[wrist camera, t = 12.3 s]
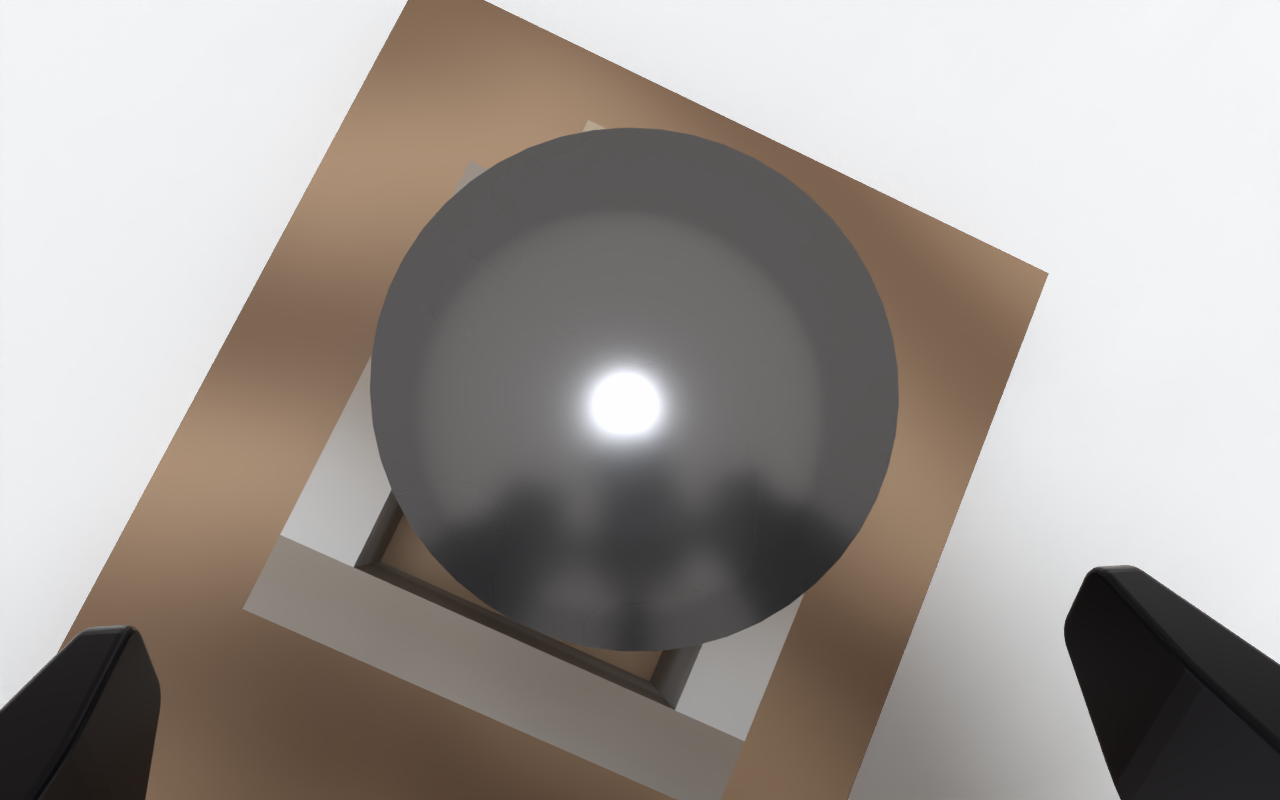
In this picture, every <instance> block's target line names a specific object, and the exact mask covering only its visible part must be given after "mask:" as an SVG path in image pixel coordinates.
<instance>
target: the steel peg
mask: <svg viewBox="0 0 1280 800" xmlns="http://www.w3.org/2000/svg"><path fill="white" fill-rule="evenodd" d="M370 398H371V410H372V422H373V428H374V433H375V437H376V442H377V446H378V450H379V455H380V459H381V462H382V465H383V468H384V470H385V473H386V476H387V478H388V481H389V484H390V486H391V489H392V492H393V494H394V496H395V498H396V500H397V502H398V504H399V505H400V507H401V509H402V511H403V513H404V515H405V517H406V518H407V520H408V522H409V524H410V526H411V527H412V529H413V530H414V531H415V533H416V534H417V535H418V537H419V538H420V540H421V541H422V542H423V544H424V545H425V546H426V548H427V549H428V551H429V552H430V553H431V555H432V556H433V557H434V558H435V559H436V560H437V561H438V562H439V563H440V564H441V565H442V566H443V567H444V568H445V569H446V570H447V571H448V572H449V574H450V575H451V576H452V577H453V578H454V579H455V580H456V581H457V582H458V583H460V584H461V585H462V586H463V587H465V588H466V589H467V590H469V591H470V592H471V593H472V594H474V595H475V596H476V597H477V598H479V599H480V600H481V601H482V602H484V603H485V604H486V605H488V606H490V607H491V608H493V609H495V610H496V611H498V612H500V613H501V614H503V615H505V616H506V617H508V618H510V619H511V620H513V621H515V622H517V623H519V624H521V625H523V626H526V627H528V628H530V629H533V630H535V631H538V632H540V633H542V634H545V635H547V636H549V637H552V638H556V639H560V640H563V641H567V642H571V643H574V644H578V645H581V646H585V647H592V648H600V649H607V650H615V651H663V650H671V649H678V648H685V647H692V646H696V645H700V644H703V643H707V642H711V641H714V640H718V639H721V638H725V637H728V636H730V635H733V634H735V633H737V632H740V631H742V630H744V629H746V628H749V627H751V626H753V625H756V624H758V623H760V622H762V621H763V620H765V619H767V618H768V617H770V616H772V615H773V614H775V613H777V612H778V611H780V610H782V609H783V608H785V607H787V606H788V605H790V604H791V603H792V602H794V601H795V600H796V599H797V598H799V597H800V596H801V595H802V594H803V593H805V592H806V591H807V590H808V589H810V588H811V587H812V586H813V585H815V584H816V583H817V582H818V581H819V580H820V579H821V578H822V577H823V576H824V575H825V574H826V572H827V571H828V570H829V569H830V568H831V567H832V566H833V565H834V564H835V563H836V562H837V561H838V560H839V559H840V558H841V556H842V555H843V553H844V552H845V551H846V549H847V548H848V546H849V545H850V544H851V542H852V541H853V540H854V538H855V537H856V535H857V534H858V533H859V531H860V530H861V528H862V526H863V524H864V522H865V520H866V518H867V517H868V515H869V513H870V511H871V509H872V507H873V505H874V503H875V502H876V500H877V497H878V494H879V492H880V489H881V486H882V484H883V481H884V478H885V476H886V473H887V470H888V467H889V463H890V458H891V454H892V450H893V445H894V441H895V437H896V427H897V417H898V407H899V389H898V367H897V361H896V355H895V348H894V342H893V336H892V333H891V329H890V326H889V323H888V319H887V316H886V312H885V309H884V306H883V303H882V301H881V298H880V296H879V294H878V291H877V289H876V287H875V285H874V282H873V280H872V278H871V275H870V273H869V272H868V270H867V268H866V267H865V265H864V263H863V262H862V260H861V258H860V257H859V255H858V253H857V252H856V250H855V248H854V246H853V245H852V244H851V242H850V241H849V240H848V238H847V237H846V236H845V235H844V233H843V232H842V231H841V229H840V228H839V227H838V226H837V224H836V223H835V222H834V220H833V219H832V218H831V217H830V216H829V215H828V214H827V213H826V212H825V211H824V210H823V209H822V208H821V207H820V206H819V205H818V204H817V203H816V202H815V201H814V200H813V199H812V198H811V197H810V196H809V195H808V194H806V193H805V192H804V191H802V190H801V189H800V188H799V187H797V186H796V185H795V184H794V183H792V182H791V181H790V180H788V179H787V178H786V177H785V176H783V175H782V174H780V173H778V172H777V171H775V170H773V169H772V168H770V167H768V166H767V165H765V164H763V163H762V162H760V161H759V160H757V159H755V158H753V157H751V156H749V155H746V154H744V153H742V152H740V151H737V150H735V149H733V148H731V147H728V146H726V145H724V144H721V143H717V142H714V141H711V140H708V139H704V138H701V137H698V136H694V135H690V134H684V133H679V132H673V131H667V130H662V129H646V128H614V129H600V130H591V131H586V132H581V133H576V134H571V135H566V136H562V137H558V138H555V139H552V140H549V141H547V142H544V143H541V144H538V145H535V146H532V147H529V148H527V149H525V150H523V151H521V152H519V153H517V154H515V155H513V156H511V157H509V158H507V159H504V160H502V161H500V162H499V163H497V164H496V165H494V166H493V167H491V168H489V169H488V170H486V171H485V172H483V173H482V174H480V175H479V176H477V177H476V178H474V179H473V180H471V181H470V182H469V183H468V184H467V185H466V186H464V187H463V188H462V189H461V190H460V191H459V192H458V193H456V194H455V195H454V196H453V197H452V198H451V199H449V200H448V201H447V202H446V203H445V204H444V205H443V206H442V207H441V209H440V210H439V211H438V212H437V213H436V214H435V215H434V217H433V218H432V219H431V220H430V221H429V222H428V223H427V224H426V226H425V227H424V228H423V229H422V231H421V232H420V234H419V235H418V237H417V238H416V240H415V241H414V243H413V244H412V246H411V247H410V249H409V250H408V252H407V253H406V255H405V256H404V258H403V260H402V262H401V264H400V266H399V268H398V270H397V272H396V274H395V276H394V278H393V280H392V282H391V284H390V286H389V289H388V292H387V295H386V298H385V301H384V304H383V307H382V310H381V313H380V316H379V319H378V323H377V328H376V334H375V339H374V344H373V350H372V356H371V376H370Z"/></svg>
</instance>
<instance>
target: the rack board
mask: <svg viewBox="0 0 1280 800" xmlns="http://www.w3.org/2000/svg"><path fill="white" fill-rule="evenodd" d="M614 128H646V129H662V130H667V131H673V132H679V133H684V134H690V135H694V136H698V137H701V138H704V139H708V140H711V141H714V142H717V143H721V144H724V145H726V146H728V147H731V148H733V149H735V150H737V151H740V152H742V153H744V154H746V155H749V156H751V157H753V158H755V159H757V160H759V161H760V162H762V163H763V164H765V165H767V166H768V167H770V168H772V169H773V170H775V171H777V172H778V173H780V174H782V175H783V176H785V177H786V178H787V179H788V180H790V181H791V182H792V183H794V184H795V185H796V186H797V187H799V188H800V189H801V190H802V191H804V192H805V193H806V194H808V195H809V196H810V197H811V198H812V199H813V200H814V201H815V202H816V203H817V204H818V205H819V206H820V207H821V208H822V209H823V210H824V211H825V212H826V213H827V214H828V215H829V216H830V217H831V218H832V219H833V220H834V222H835V223H836V224H837V226H838V227H839V228H840V229H841V231H842V232H843V233H844V235H845V236H846V237H847V238H848V240H849V241H850V242H851V244H852V245H853V246H854V248H855V250H856V252H857V253H858V255H859V257H860V258H861V260H862V262H863V263H864V265H865V267H866V268H867V270H868V272H869V273H870V275H871V278H872V280H873V282H874V285H875V287H876V289H877V291H878V294H879V296H880V298H881V301H882V303H883V306H884V309H885V312H886V316H887V319H888V323H889V326H890V329H891V333H892V336H893V342H894V348H895V355H896V361H897V367H898V389H899V407H898V417H897V427H896V437H895V441H894V445H893V450H892V454H891V458H890V463H889V467H888V470H887V473H886V476H885V478H884V481H883V484H882V486H881V489H880V492H879V494H878V497H877V500H876V502H875V503H874V505H873V507H872V509H871V511H870V513H869V515H868V517H867V518H866V520H865V522H864V524H863V526H862V528H861V530H860V531H859V533H858V534H857V535H856V537H855V538H854V540H853V541H852V542H851V544H850V545H849V546H848V548H847V549H846V551H845V552H844V553H843V555H842V556H841V558H840V559H839V560H838V561H837V562H836V563H835V564H834V565H833V566H832V567H831V568H830V569H829V570H828V571H827V572H826V574H825V575H824V576H823V577H822V578H821V579H820V580H819V581H818V582H817V583H816V584H815V585H813V586H812V587H811V588H810V589H808V590H807V591H806V592H805V593H803V594H802V595H801V596H800V597H799V598H797V599H796V600H795V601H794V602H792V603H791V604H790V605H788V606H787V607H785V608H783V609H782V610H780V611H778V612H777V613H775V614H773V615H772V616H770V617H768V618H767V619H765V620H763V621H762V622H760V623H758V624H756V625H753V626H751V627H749V628H746V629H744V630H742V631H740V632H737V633H735V634H733V635H730V636H728V637H725V638H721V639H718V640H714V641H711V642H707V643H703V644H700V645H696V646H692V647H685V648H678V649H671V650H663V651H615V650H607V649H600V648H592V647H585V646H581V645H578V644H574V643H571V642H567V641H563V640H560V639H556V638H552V637H549V636H547V635H545V634H542V633H540V632H538V631H535V630H533V629H530V628H528V627H526V626H523V625H521V624H519V623H517V622H515V621H513V620H511V619H510V618H508V617H506V616H505V615H503V614H501V613H500V612H498V611H496V610H495V609H493V608H491V607H490V606H488V605H486V604H485V603H484V602H482V601H481V600H480V599H479V598H477V597H476V596H475V595H474V594H472V593H471V592H470V591H469V590H467V589H466V588H465V587H463V586H462V585H461V584H460V583H458V582H457V581H456V580H455V579H454V578H453V577H452V576H451V575H450V574H449V572H448V571H447V570H446V569H445V568H444V567H443V566H442V565H441V564H440V563H439V562H438V561H437V560H436V559H435V558H434V557H433V556H432V555H431V553H430V552H429V551H428V549H427V548H426V546H425V545H424V544H423V542H422V541H421V540H420V538H419V537H418V535H417V534H416V533H415V531H414V530H413V529H412V527H411V526H410V524H409V522H408V520H407V518H406V517H405V515H404V513H403V511H402V509H401V507H400V505H399V504H398V502H397V500H396V498H395V496H394V494H393V492H392V489H391V486H390V484H389V481H388V478H387V476H386V473H385V470H384V468H383V465H382V462H381V459H380V455H379V450H378V446H377V442H376V437H375V433H374V428H373V422H372V410H371V398H370V376H371V356H372V350H373V344H374V339H375V334H376V328H377V323H378V319H379V316H380V313H381V310H382V307H383V304H384V301H385V298H386V295H387V292H388V289H389V286H390V284H391V282H392V280H393V278H394V276H395V274H396V272H397V270H398V268H399V266H400V264H401V262H402V260H403V258H404V256H405V255H406V253H407V252H408V250H409V249H410V247H411V246H412V244H413V243H414V241H415V240H416V238H417V237H418V235H419V234H420V232H421V231H422V229H423V228H424V227H425V226H426V224H427V223H428V222H429V221H430V220H431V219H432V218H433V217H434V215H435V214H436V213H437V212H438V211H439V210H440V209H441V207H442V206H443V205H444V204H445V203H446V202H447V201H448V200H449V199H451V198H452V197H453V196H454V195H455V194H456V193H458V192H459V191H460V190H461V189H462V188H463V187H464V186H466V185H467V184H468V183H469V182H470V181H471V180H473V179H474V178H476V177H477V176H479V175H480V174H482V173H483V172H485V171H486V170H488V169H489V168H491V167H493V166H494V165H496V164H497V163H499V162H500V161H502V160H504V159H507V158H509V157H511V156H513V155H515V154H517V153H519V152H521V151H523V150H525V149H527V148H529V147H532V146H535V145H538V144H541V143H544V142H547V141H549V140H552V139H555V138H558V137H562V136H566V135H571V134H576V133H581V132H586V131H591V130H600V129H614ZM1047 276H1048V273H1047V272H1045V271H1043V270H1040V269H1038V268H1036V267H1034V266H1032V265H1030V264H1028V263H1026V262H1024V261H1022V260H1020V259H1018V258H1016V257H1014V256H1012V255H1009V254H1007V253H1005V252H1003V251H1001V250H999V249H997V248H995V247H993V246H991V245H989V244H987V243H985V242H983V241H981V240H978V239H976V238H974V237H972V236H970V235H968V234H966V233H964V232H962V231H960V230H958V229H956V228H954V227H952V226H950V225H947V224H945V223H943V222H941V221H939V220H937V219H935V218H933V217H931V216H929V215H927V214H925V213H923V212H921V211H919V210H916V209H914V208H912V207H910V206H908V205H906V204H904V203H902V202H900V201H898V200H896V199H894V198H892V197H890V196H888V195H885V194H883V193H881V192H879V191H877V190H875V189H873V188H871V187H869V186H867V185H865V184H863V183H861V182H859V181H857V180H854V179H852V178H850V177H848V176H846V175H844V174H842V173H840V172H838V171H836V170H834V169H832V168H830V167H828V166H825V165H823V164H821V163H819V162H817V161H815V160H813V159H811V158H809V157H807V156H805V155H803V154H801V153H799V152H797V151H794V150H792V149H790V148H788V147H786V146H784V145H782V144H780V143H778V142H776V141H774V140H772V139H770V138H768V137H766V136H763V135H761V134H759V133H757V132H755V131H753V130H751V129H749V128H747V127H745V126H743V125H741V124H739V123H737V122H735V121H732V120H730V119H728V118H726V117H724V116H722V115H720V114H718V113H716V112H714V111H712V110H710V109H708V108H706V107H704V106H701V105H699V104H697V103H695V102H693V101H691V100H689V99H687V98H685V97H683V96H681V95H679V94H677V93H675V92H673V91H670V90H668V89H666V88H664V87H662V86H660V85H658V84H656V83H654V82H652V81H650V80H648V79H646V78H644V77H642V76H639V75H637V74H635V73H633V72H631V71H629V70H627V69H625V68H623V67H621V66H619V65H617V64H615V63H613V62H611V61H608V60H606V59H604V58H602V57H600V56H598V55H596V54H594V53H592V52H590V51H588V50H586V49H584V48H582V47H580V46H577V45H575V44H573V43H571V42H569V41H567V40H565V39H563V38H561V37H559V36H557V35H555V34H553V33H551V32H549V31H546V30H544V29H542V28H540V27H538V26H536V25H534V24H532V23H530V22H528V21H526V20H524V19H522V18H520V17H517V16H515V15H513V14H511V13H509V12H507V11H505V10H503V9H501V8H499V7H497V6H495V5H493V4H491V3H489V2H486V1H484V0H408V1H407V3H406V5H405V7H404V9H403V11H402V13H401V14H400V16H399V18H398V20H397V22H396V24H395V26H394V27H393V29H392V31H391V33H390V35H389V37H388V39H387V40H386V42H385V44H384V46H383V48H382V50H381V52H380V53H379V55H378V57H377V59H376V61H375V63H374V65H373V67H372V68H371V70H370V72H369V74H368V76H367V78H366V80H365V81H364V83H363V85H362V87H361V89H360V91H359V93H358V94H357V96H356V98H355V100H354V102H353V104H352V106H351V107H350V109H349V111H348V113H347V115H346V117H345V119H344V120H343V122H342V124H341V126H340V128H339V130H338V132H337V134H336V135H335V137H334V139H333V141H332V143H331V145H330V147H329V148H328V150H327V152H326V154H325V156H324V158H323V160H322V161H321V163H320V165H319V167H318V169H317V171H316V173H315V174H314V176H313V178H312V180H311V182H310V184H309V186H308V188H307V189H306V191H305V193H304V195H303V197H302V199H301V201H300V202H299V204H298V206H297V208H296V210H295V212H294V214H293V215H292V217H291V219H290V221H289V223H288V225H287V227H286V228H285V230H284V232H283V234H282V236H281V238H280V240H279V242H278V243H277V245H276V247H275V249H274V251H273V253H272V255H271V256H270V258H269V260H268V262H267V264H266V266H265V268H264V269H263V271H262V273H261V275H260V277H259V279H258V281H257V282H256V284H255V286H254V288H253V290H252V292H251V294H250V295H249V297H248V299H247V301H246V303H245V305H244V307H243V309H242V310H241V312H240V314H239V316H238V318H237V320H236V322H235V323H234V325H233V327H232V329H231V331H230V333H229V335H228V336H227V338H226V340H225V342H224V344H223V346H222V348H221V349H220V351H219V353H218V355H217V357H216V359H215V361H214V363H213V364H212V366H211V368H210V370H209V372H208V374H207V376H206V377H205V379H204V381H203V383H202V385H201V387H200V389H199V390H198V392H197V394H196V396H195V398H194V400H193V402H192V403H191V405H190V407H189V409H188V411H187V413H186V415H185V417H184V418H183V420H182V422H181V424H180V426H179V428H178V430H177V431H176V433H175V435H174V437H173V439H172V441H171V443H170V444H169V446H168V448H167V450H166V452H165V454H164V456H163V457H162V459H161V461H160V463H159V465H158V467H157V469H156V471H155V472H154V474H153V476H152V478H151V480H150V482H149V484H148V485H147V487H146V489H145V491H144V493H143V495H142V497H141V498H140V500H139V502H138V504H137V506H136V508H135V510H134V511H133V513H132V515H131V517H130V519H129V521H128V523H127V524H126V526H125V528H124V530H123V532H122V534H121V536H120V538H119V539H118V541H117V543H116V545H115V547H114V549H113V551H112V552H111V554H110V556H109V558H108V560H107V562H106V564H105V565H104V567H103V569H102V571H101V573H100V575H99V577H98V578H97V580H96V582H95V584H94V586H93V588H92V590H91V592H90V593H89V595H88V597H87V599H86V601H85V603H84V605H83V606H82V608H81V610H80V612H79V614H78V616H77V618H76V619H75V621H74V623H73V625H72V627H71V629H70V631H69V632H68V634H67V636H66V638H65V640H64V642H63V644H62V646H61V647H60V649H59V651H58V653H59V652H60V651H61V650H62V649H63V648H64V647H65V646H66V645H67V644H68V643H69V642H70V641H71V640H72V639H73V638H74V637H75V636H76V635H77V634H78V633H80V632H81V631H83V630H85V629H87V628H90V627H99V626H116V625H131V626H134V627H135V628H136V629H137V630H139V632H140V634H141V636H142V638H143V641H144V643H145V646H146V648H147V651H148V654H149V656H150V659H151V661H152V664H153V667H154V669H155V672H156V674H157V677H158V680H159V683H160V689H161V706H160V713H159V719H158V726H157V732H156V738H155V744H154V750H153V756H152V762H151V768H150V774H149V780H148V787H147V793H146V799H145V800H847V799H848V797H849V794H850V792H851V789H852V786H853V784H854V781H855V778H856V776H857V773H858V771H859V768H860V765H861V763H862V760H863V758H864V755H865V752H866V750H867V747H868V744H869V742H870V739H871V737H872V734H873V731H874V729H875V726H876V724H877V721H878V718H879V716H880V713H881V710H882V708H883V705H884V703H885V700H886V697H887V695H888V692H889V690H890V687H891V684H892V682H893V679H894V676H895V674H896V671H897V669H898V666H899V663H900V661H901V658H902V655H903V653H904V650H905V648H906V645H907V642H908V640H909V637H910V635H911V632H912V629H913V627H914V624H915V621H916V619H917V616H918V614H919V611H920V608H921V606H922V603H923V601H924V598H925V595H926V593H927V590H928V587H929V585H930V582H931V580H932V577H933V574H934V572H935V569H936V567H937V564H938V561H939V559H940V556H941V553H942V551H943V548H944V546H945V543H946V540H947V538H948V535H949V533H950V530H951V527H952V525H953V522H954V519H955V517H956V514H957V512H958V509H959V506H960V504H961V501H962V499H963V496H964V493H965V491H966V488H967V485H968V483H969V480H970V478H971V475H972V472H973V470H974V467H975V464H976V462H977V459H978V457H979V454H980V451H981V449H982V446H983V444H984V441H985V438H986V436H987V433H988V430H989V428H990V425H991V423H992V420H993V417H994V415H995V412H996V410H997V407H998V404H999V402H1000V399H1001V396H1002V394H1003V391H1004V389H1005V386H1006V383H1007V381H1008V378H1009V376H1010V373H1011V370H1012V368H1013V365H1014V362H1015V360H1016V357H1017V355H1018V352H1019V349H1020V347H1021V344H1022V342H1023V339H1024V336H1025V334H1026V331H1027V328H1028V326H1029V323H1030V321H1031V318H1032V315H1033V313H1034V310H1035V307H1036V305H1037V302H1038V300H1039V297H1040V294H1041V292H1042V289H1043V287H1044V284H1045V281H1046V279H1047ZM58 653H57V654H58Z"/></svg>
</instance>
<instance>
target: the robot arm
mask: <svg viewBox="0 0 1280 800" xmlns="http://www.w3.org/2000/svg"><path fill="white" fill-rule="evenodd" d="M1064 637H1065V642H1066V646H1067V649H1068V652H1069V655H1070V658H1071V661H1072V664H1073V667H1074V670H1075V673H1076V676H1077V679H1078V682H1079V685H1080V688H1081V691H1082V693H1083V696H1084V699H1085V702H1086V705H1087V708H1088V711H1089V714H1090V717H1091V720H1092V723H1093V726H1094V729H1095V732H1096V735H1097V737H1098V740H1099V743H1100V746H1101V749H1102V752H1103V755H1104V758H1105V761H1106V764H1107V766H1108V769H1109V772H1110V774H1111V777H1112V780H1113V782H1114V785H1115V787H1116V790H1117V792H1118V794H1119V797H1120V799H1121V800H1280V664H1278V663H1277V662H1275V661H1274V660H1272V659H1271V658H1270V657H1268V656H1267V655H1265V654H1264V653H1262V652H1261V651H1259V650H1258V649H1256V648H1255V647H1253V646H1252V645H1251V644H1249V643H1248V642H1246V641H1245V640H1243V639H1242V638H1240V637H1239V636H1237V635H1236V634H1234V633H1233V632H1232V631H1230V630H1229V629H1227V628H1226V627H1224V626H1223V625H1221V624H1220V623H1218V622H1217V621H1215V620H1214V619H1212V618H1211V617H1210V616H1208V615H1207V614H1205V613H1204V612H1202V611H1201V610H1199V609H1198V608H1196V607H1195V606H1193V605H1192V604H1191V603H1189V602H1188V601H1186V600H1185V599H1183V598H1182V597H1180V596H1179V595H1177V594H1176V593H1174V592H1173V591H1172V590H1170V589H1169V588H1167V587H1166V586H1164V585H1163V584H1161V583H1160V582H1158V581H1157V580H1155V579H1154V578H1153V577H1151V576H1150V575H1148V574H1147V573H1145V572H1144V571H1142V570H1140V569H1139V568H1136V567H1134V566H1129V565H1120V566H1103V567H1096V568H1093V569H1092V570H1091V571H1089V572H1088V573H1087V575H1086V577H1085V578H1084V581H1083V583H1082V585H1081V587H1080V589H1079V591H1078V594H1077V596H1076V598H1075V600H1074V602H1073V604H1072V607H1071V609H1070V611H1069V613H1068V615H1067V618H1066V620H1065V626H1064ZM160 706H161V689H160V683H159V680H158V677H157V674H156V672H155V669H154V667H153V664H152V661H151V659H150V656H149V654H148V651H147V648H146V646H145V643H144V641H143V638H142V636H141V634H140V632H139V630H137V629H136V628H135V627H134V626H131V625H116V626H99V627H90V628H87V629H85V630H83V631H81V632H80V633H78V634H77V635H76V636H75V637H74V638H73V639H72V640H71V641H70V642H69V643H68V644H67V645H66V646H65V647H64V648H63V649H62V650H61V651H60V652H59V653H58V654H57V655H55V656H54V657H53V658H52V659H51V660H50V661H49V662H48V663H47V664H46V665H45V666H44V667H43V668H42V669H41V670H40V671H39V672H38V673H37V674H36V675H35V676H34V677H33V678H32V679H31V680H30V681H29V682H28V683H27V684H26V685H25V686H24V687H23V688H22V689H21V690H20V691H19V692H18V693H17V694H16V695H15V696H14V697H13V698H12V699H11V700H10V701H9V702H8V703H7V704H6V705H5V706H4V707H3V708H2V709H1V710H0V800H145V799H146V793H147V787H148V780H149V774H150V768H151V762H152V756H153V750H154V744H155V738H156V732H157V726H158V719H159V713H160Z"/></svg>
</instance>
